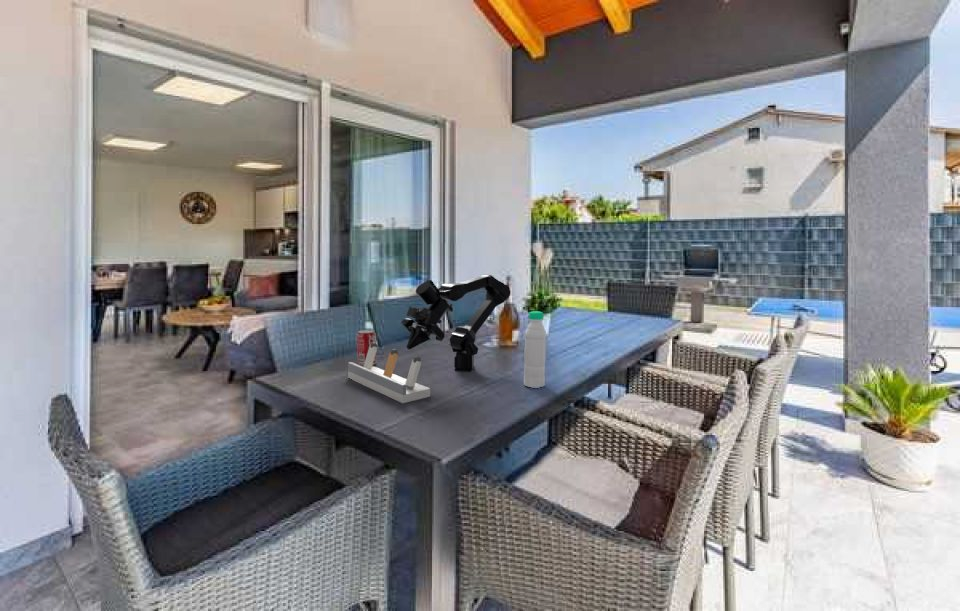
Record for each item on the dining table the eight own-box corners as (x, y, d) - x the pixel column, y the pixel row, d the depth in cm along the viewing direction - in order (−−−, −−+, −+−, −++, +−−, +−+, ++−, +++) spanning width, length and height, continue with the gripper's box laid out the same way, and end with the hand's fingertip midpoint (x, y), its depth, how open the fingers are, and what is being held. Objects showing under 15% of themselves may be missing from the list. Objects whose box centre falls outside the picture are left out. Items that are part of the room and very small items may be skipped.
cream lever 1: (367, 370, 171) (375, 342, 172) (371, 372, 169) (380, 343, 170) (361, 369, 170) (369, 340, 171) (365, 371, 167) (374, 342, 168)
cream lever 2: (409, 387, 152) (418, 356, 153) (415, 390, 150) (424, 358, 151) (402, 386, 150) (412, 354, 152) (408, 388, 148) (418, 356, 149)
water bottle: (531, 390, 158) (533, 314, 155) (519, 384, 165) (521, 310, 161) (548, 387, 162) (551, 312, 158) (536, 381, 168) (539, 309, 164)
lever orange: (386, 378, 162) (395, 348, 163) (392, 380, 159) (400, 350, 160) (380, 377, 160) (389, 347, 161) (386, 379, 158) (394, 349, 159)
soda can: (371, 367, 184) (371, 333, 182) (354, 366, 185) (353, 332, 183) (379, 362, 191) (379, 329, 189) (362, 361, 192) (361, 328, 190)
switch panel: (374, 373, 176) (373, 358, 175) (430, 396, 151) (430, 379, 150) (348, 378, 169) (347, 362, 169) (402, 403, 144) (402, 385, 144)
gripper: (405, 295, 172) (378, 329, 166) (437, 300, 158) (409, 338, 153) (423, 315, 179) (398, 349, 173) (456, 322, 165) (429, 359, 159)
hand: (407, 348), depth 164 cm, fingers closed
